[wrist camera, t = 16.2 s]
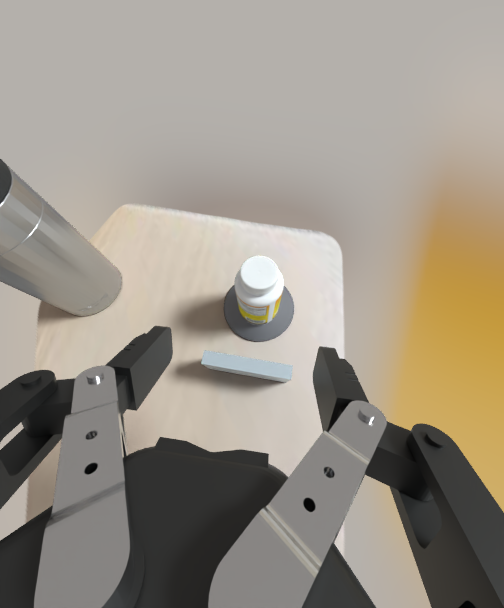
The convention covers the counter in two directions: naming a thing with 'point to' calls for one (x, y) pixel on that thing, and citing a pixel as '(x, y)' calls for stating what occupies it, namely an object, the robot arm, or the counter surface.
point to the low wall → (247, 366)
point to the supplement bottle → (259, 290)
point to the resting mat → (259, 331)
